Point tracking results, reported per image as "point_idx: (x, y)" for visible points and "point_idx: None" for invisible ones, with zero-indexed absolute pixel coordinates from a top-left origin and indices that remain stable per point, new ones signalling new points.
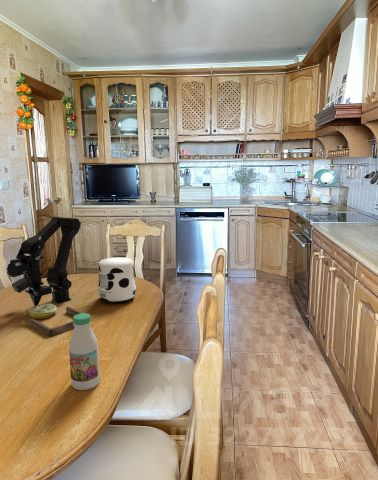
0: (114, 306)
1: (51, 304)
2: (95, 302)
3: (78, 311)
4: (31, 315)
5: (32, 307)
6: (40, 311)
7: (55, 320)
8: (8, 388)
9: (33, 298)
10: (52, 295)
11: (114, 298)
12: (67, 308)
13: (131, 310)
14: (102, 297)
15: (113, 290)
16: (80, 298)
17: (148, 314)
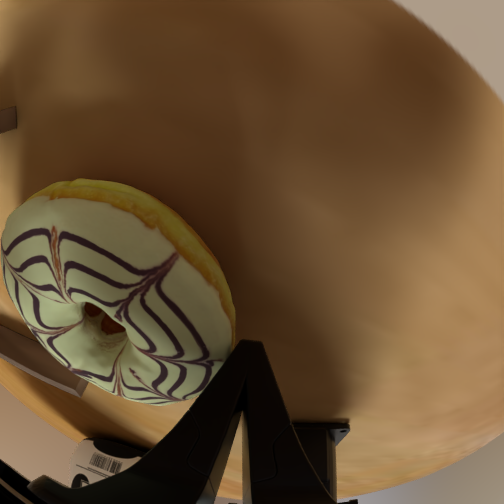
0: (79, 422)
1: (121, 396)
2: (149, 442)
3: (4, 357)
4: (61, 183)
5: (139, 292)
6: (4, 264)
7: None
8: None
9: (190, 439)
10: (321, 460)
11: (78, 446)
12: (64, 380)
13: (36, 404)
14: (109, 455)
15: (72, 470)
16: (240, 456)
17: (8, 389)
